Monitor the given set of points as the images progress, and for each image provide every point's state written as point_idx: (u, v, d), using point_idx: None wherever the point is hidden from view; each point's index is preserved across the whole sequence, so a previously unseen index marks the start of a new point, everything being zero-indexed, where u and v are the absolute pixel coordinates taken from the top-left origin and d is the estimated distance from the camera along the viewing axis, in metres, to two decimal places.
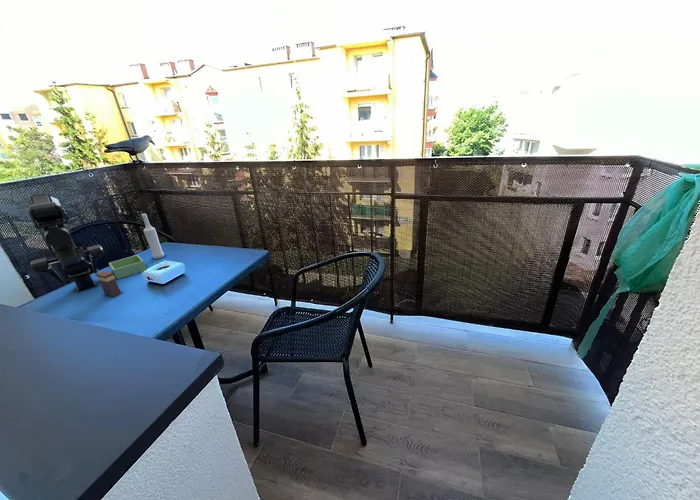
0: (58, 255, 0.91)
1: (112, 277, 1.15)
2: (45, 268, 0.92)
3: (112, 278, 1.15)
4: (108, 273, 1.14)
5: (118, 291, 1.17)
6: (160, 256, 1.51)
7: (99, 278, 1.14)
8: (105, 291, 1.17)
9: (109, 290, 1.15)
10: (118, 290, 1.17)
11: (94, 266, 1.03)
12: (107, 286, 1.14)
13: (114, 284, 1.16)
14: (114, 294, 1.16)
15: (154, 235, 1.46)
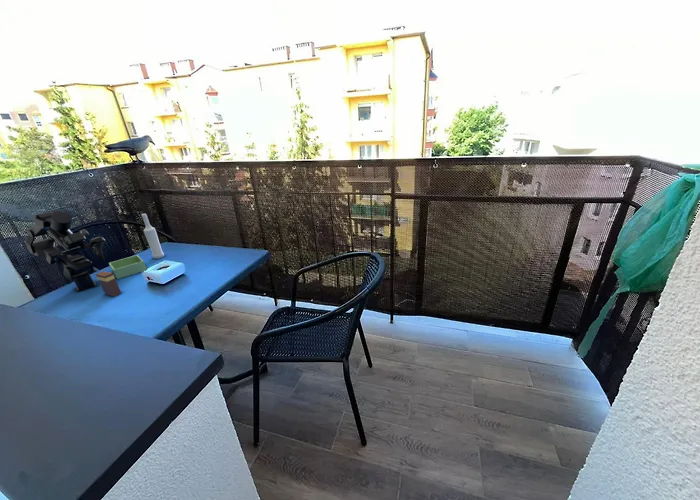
0: None
1: (112, 277, 1.15)
2: (60, 253, 1.07)
3: (112, 278, 1.15)
4: (108, 273, 1.14)
5: (118, 291, 1.17)
6: (160, 256, 1.51)
7: (99, 278, 1.14)
8: (105, 291, 1.17)
9: (109, 290, 1.15)
10: (118, 290, 1.17)
11: (100, 252, 1.18)
12: (107, 286, 1.14)
13: (114, 284, 1.16)
14: (114, 294, 1.16)
15: (154, 235, 1.46)
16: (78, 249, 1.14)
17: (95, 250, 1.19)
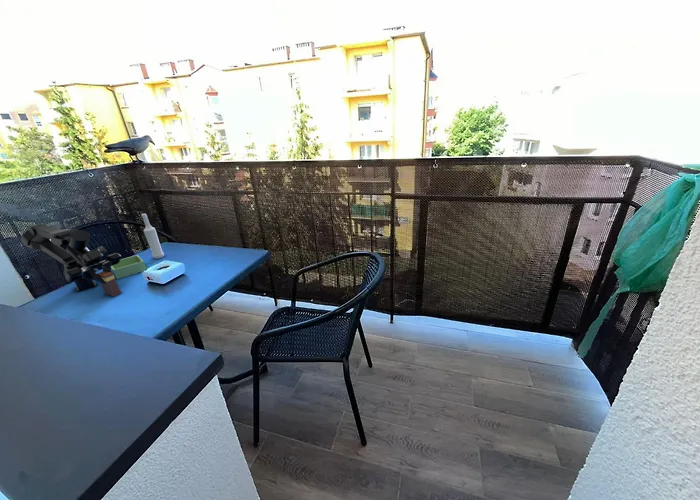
0: (84, 254, 1.09)
1: (112, 277, 1.15)
2: (78, 271, 1.08)
3: (112, 278, 1.15)
4: (108, 273, 1.14)
5: (118, 291, 1.17)
6: (160, 256, 1.51)
7: None
8: (105, 291, 1.17)
9: (109, 290, 1.15)
10: (118, 290, 1.17)
11: (109, 271, 1.16)
12: (107, 286, 1.14)
13: (114, 284, 1.16)
14: (114, 294, 1.16)
15: (154, 235, 1.46)
16: (95, 266, 1.15)
17: (104, 269, 1.17)
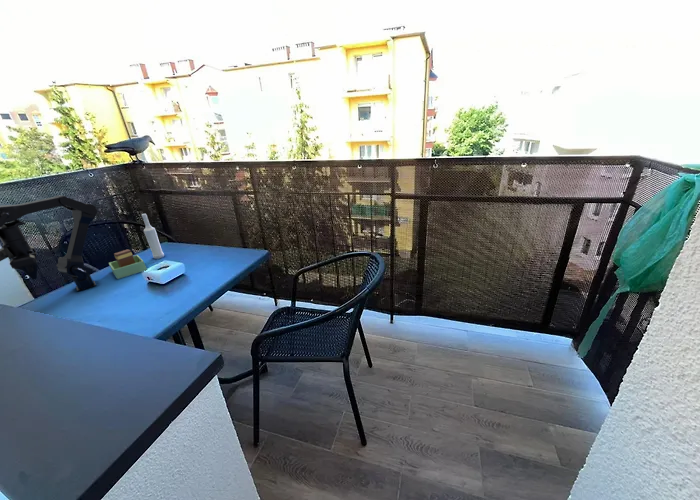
0: None
1: None
2: None
3: None
4: (125, 250, 1.35)
5: None
6: (160, 256, 1.51)
7: (121, 256, 1.33)
8: None
9: (133, 263, 1.37)
10: None
11: None
12: (131, 260, 1.36)
13: None
14: None
15: (154, 235, 1.46)
16: None
17: None
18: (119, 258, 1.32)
